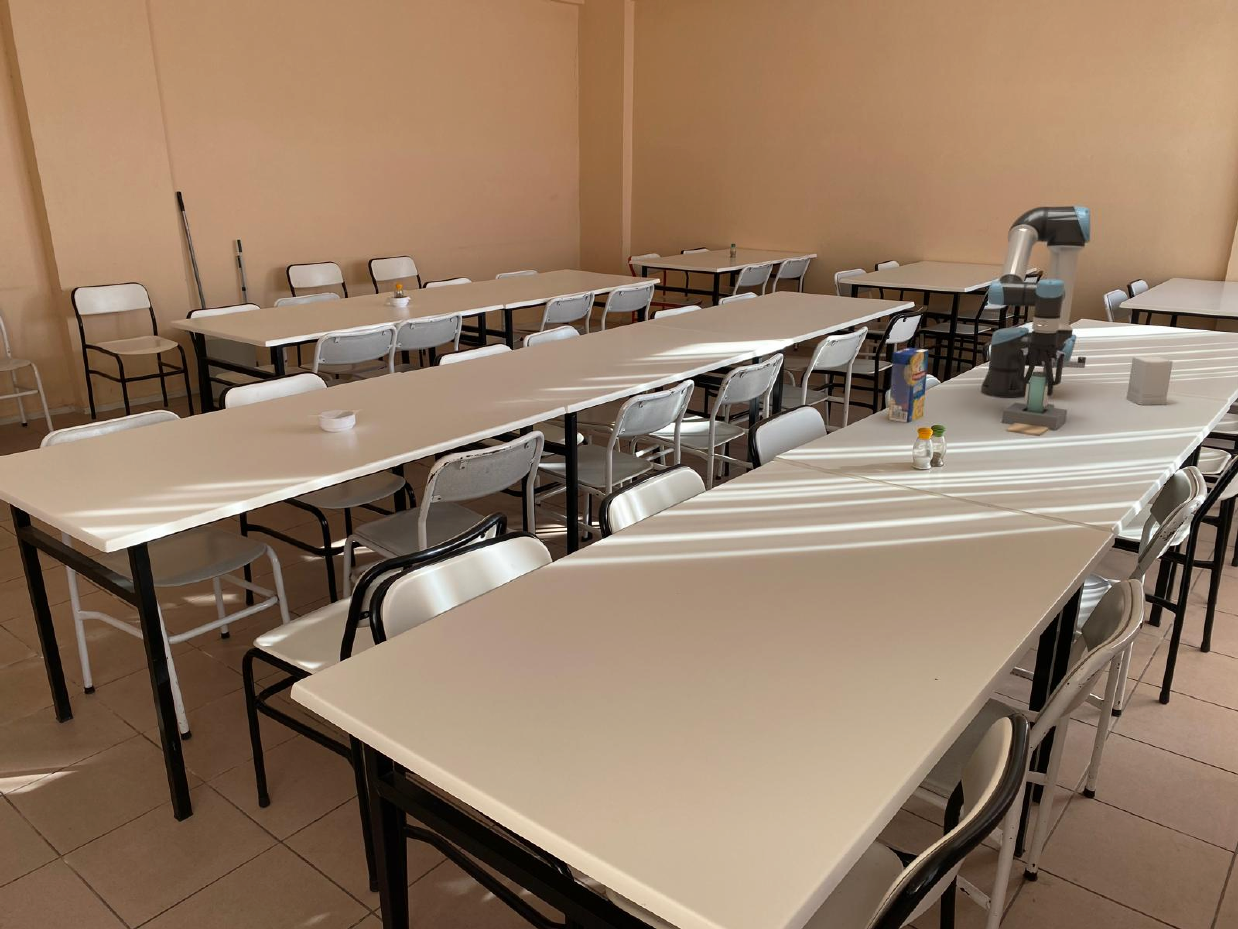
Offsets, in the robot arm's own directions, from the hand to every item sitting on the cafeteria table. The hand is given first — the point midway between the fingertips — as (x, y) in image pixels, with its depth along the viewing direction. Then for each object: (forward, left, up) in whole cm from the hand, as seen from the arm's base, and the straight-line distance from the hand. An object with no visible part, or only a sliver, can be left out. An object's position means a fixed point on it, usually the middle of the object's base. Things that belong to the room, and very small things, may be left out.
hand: (1035, 404), depth 281 cm
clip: (+4, +10, +11) cm, 15 cm away
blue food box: (-35, -17, -6) cm, 39 cm away
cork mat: (+1, -10, -6) cm, 12 cm away
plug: (0, 0, -6) cm, 6 cm away
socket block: (0, +2, -6) cm, 6 cm away
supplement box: (+23, +48, -6) cm, 53 cm away
